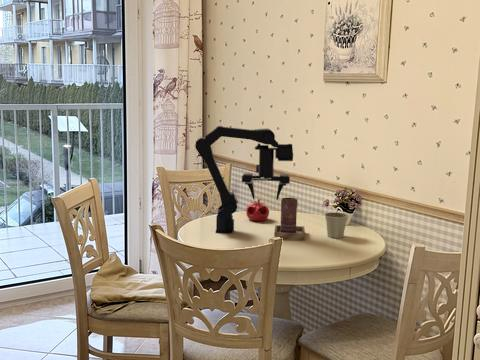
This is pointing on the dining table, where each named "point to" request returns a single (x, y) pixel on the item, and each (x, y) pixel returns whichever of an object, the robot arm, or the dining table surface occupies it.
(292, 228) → the can
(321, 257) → the dining table surface
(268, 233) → the dining table surface
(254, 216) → the pomegranate
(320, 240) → the dining table surface
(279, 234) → the tray
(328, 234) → the flower pot
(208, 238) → the dining table surface
